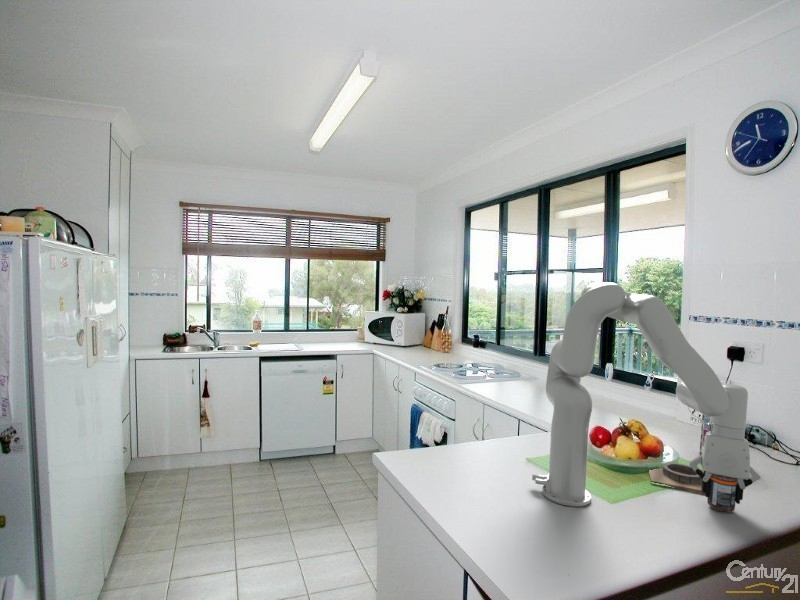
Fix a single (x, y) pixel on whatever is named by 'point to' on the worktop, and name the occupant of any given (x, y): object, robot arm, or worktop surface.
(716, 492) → the supplement bottle
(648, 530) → the worktop surface
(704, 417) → the candy bar box
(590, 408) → the robot arm
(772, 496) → the worktop surface
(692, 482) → the collar board
